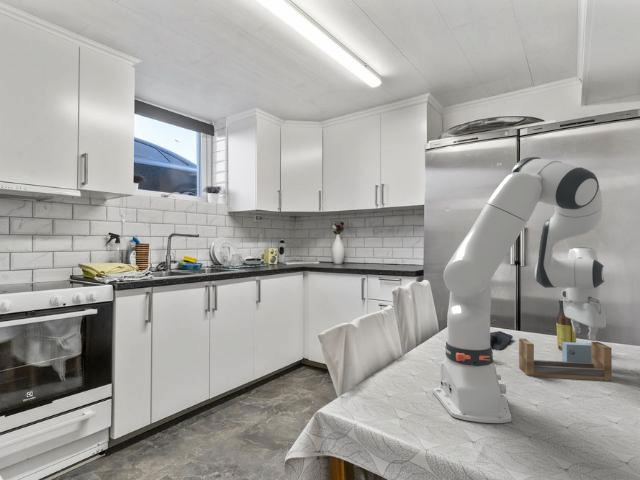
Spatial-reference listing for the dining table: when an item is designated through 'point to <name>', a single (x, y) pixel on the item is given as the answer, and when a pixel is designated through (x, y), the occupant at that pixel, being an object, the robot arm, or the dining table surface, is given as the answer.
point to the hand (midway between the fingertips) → (584, 336)
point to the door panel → (576, 352)
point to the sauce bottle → (564, 328)
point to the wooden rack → (567, 364)
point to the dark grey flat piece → (499, 340)
